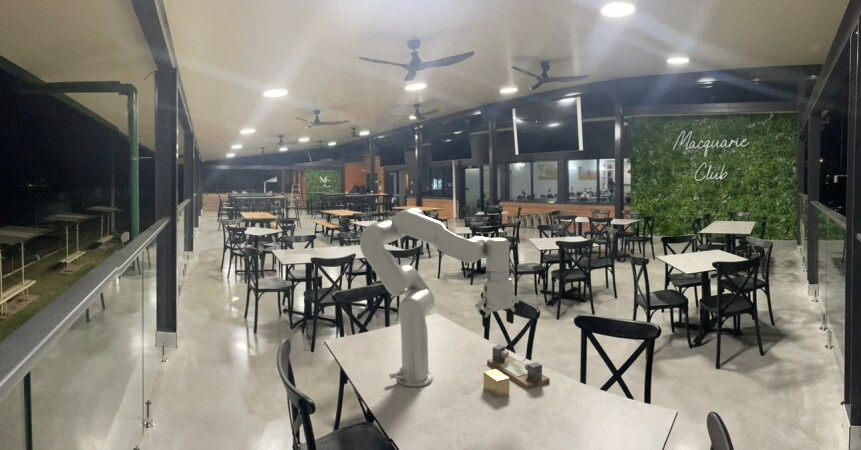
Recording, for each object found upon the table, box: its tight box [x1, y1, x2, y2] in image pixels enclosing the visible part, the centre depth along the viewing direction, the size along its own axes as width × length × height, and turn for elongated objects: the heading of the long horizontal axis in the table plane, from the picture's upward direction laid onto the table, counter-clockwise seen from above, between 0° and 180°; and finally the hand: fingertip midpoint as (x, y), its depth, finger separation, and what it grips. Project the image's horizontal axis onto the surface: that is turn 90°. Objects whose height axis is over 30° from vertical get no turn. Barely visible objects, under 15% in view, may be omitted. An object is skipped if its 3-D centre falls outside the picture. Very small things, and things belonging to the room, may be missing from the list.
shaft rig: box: [486, 344, 550, 390], centre depth 174 cm, size 10×24×7 cm, turn 27°
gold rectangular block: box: [483, 368, 510, 399], centre depth 161 cm, size 5×8×6 cm, turn 27°
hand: (498, 325), depth 158 cm, fingers open, 9 cm apart
